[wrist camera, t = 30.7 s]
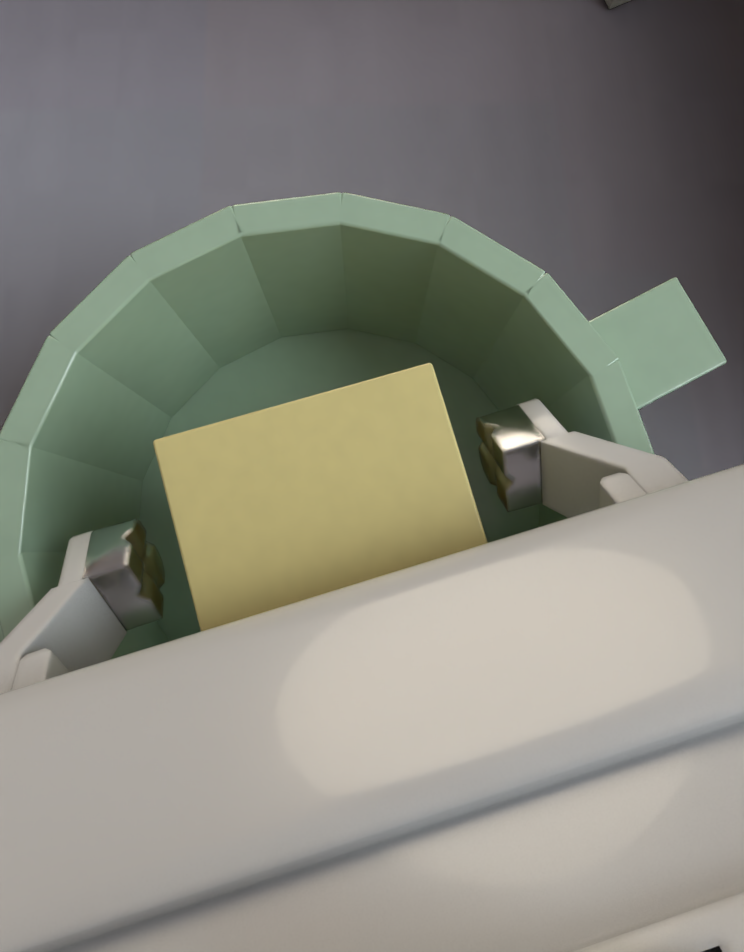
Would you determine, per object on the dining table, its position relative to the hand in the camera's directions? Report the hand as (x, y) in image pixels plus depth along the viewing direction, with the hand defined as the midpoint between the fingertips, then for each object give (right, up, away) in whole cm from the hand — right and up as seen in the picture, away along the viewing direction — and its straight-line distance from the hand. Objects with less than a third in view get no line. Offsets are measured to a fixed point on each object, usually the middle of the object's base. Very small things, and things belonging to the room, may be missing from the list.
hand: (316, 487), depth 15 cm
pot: (0, -1, +6) cm, 6 cm away
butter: (0, -1, +6) cm, 6 cm away
